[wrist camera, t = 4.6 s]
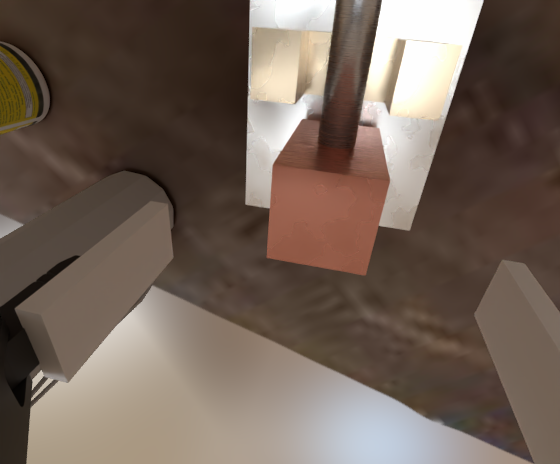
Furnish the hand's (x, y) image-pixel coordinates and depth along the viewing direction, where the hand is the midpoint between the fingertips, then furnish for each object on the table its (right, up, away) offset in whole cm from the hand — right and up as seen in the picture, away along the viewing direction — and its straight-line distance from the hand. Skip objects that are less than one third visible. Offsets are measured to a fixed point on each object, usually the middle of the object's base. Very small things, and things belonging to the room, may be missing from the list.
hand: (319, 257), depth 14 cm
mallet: (+3, +14, +5) cm, 15 cm away
